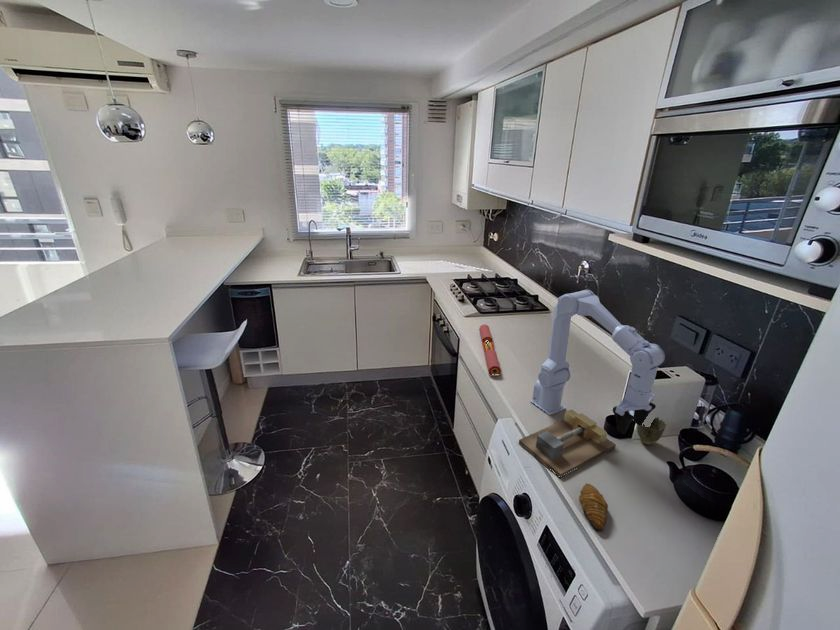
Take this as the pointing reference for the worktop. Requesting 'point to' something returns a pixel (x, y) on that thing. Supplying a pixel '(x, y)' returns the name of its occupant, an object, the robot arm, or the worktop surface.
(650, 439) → the olive green lumpy piece
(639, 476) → the worktop surface
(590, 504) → the croissant
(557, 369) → the robot arm
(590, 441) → the rod base
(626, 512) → the worktop surface
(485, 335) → the pink labeled cylinder
